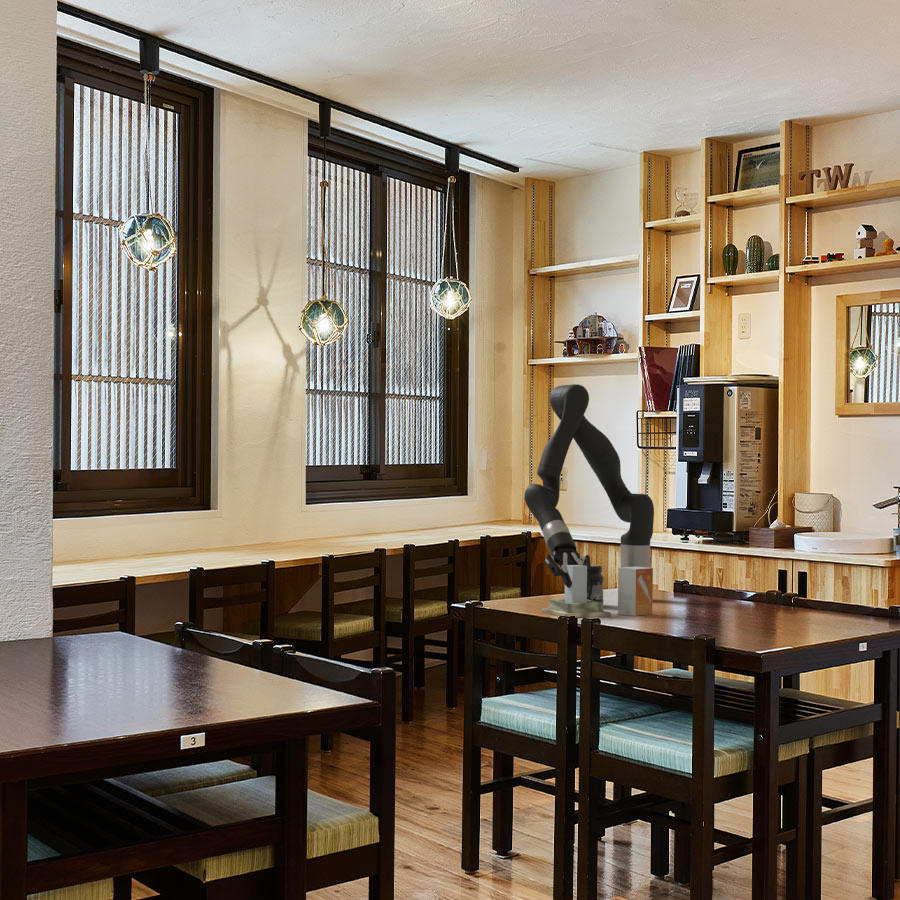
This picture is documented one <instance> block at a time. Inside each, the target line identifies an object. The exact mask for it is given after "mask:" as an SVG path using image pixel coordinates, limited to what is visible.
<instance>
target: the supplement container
mask: <svg viewBox="0 0 900 900" xmlns="http://www.w3.org/2000/svg"><path fill="white" fill-rule="evenodd" d="M582 565H583V564H582ZM590 565H591V570H590V572H589V574H588V576H587V577H588V579H589V583H588V585H587V600H592V601H597V602H601V603H603V604H604V580H605V578H604V575H603V574H602V572H603V566H602V565H601V564H594V563H593V564H592V563H590Z"/></svg>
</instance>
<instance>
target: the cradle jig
mask: <svg viewBox="0 0 900 900" xmlns="http://www.w3.org/2000/svg"><path fill="white" fill-rule="evenodd" d="M541 612H542V613H544V614H548V615H553V616H556V617H560V616H575V618H595V617H598V618H599V617H611V616H612V615H611V612H610V611H605V610H604V602H603V603H601V602H597V601H592V600H587V603H566V602H565V598H564V599H549V600H548V607H546V608H545V607H544V608H543V607H542V608H541Z"/></svg>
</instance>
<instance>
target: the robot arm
mask: <svg viewBox="0 0 900 900" xmlns="http://www.w3.org/2000/svg"><path fill="white" fill-rule="evenodd" d="M549 402H550V403H549V404H550V407H551V409H552V410H553V412H554V413H555V415H556V416H557V418H558V419H559V424H558V426H557V428H556V430H555V431H554V433H553V434H552V435H551V437H550V438H549V440H548V441H547V443H546V445H544V449H543V451H542V454H541V457H540V461H539V464H538V467H537V470H536V471H537V473H536V474H537V476H538V478H540V479H541V481H542V484H538V483H532V484H530V485H528V486H527V488H525V492H524V494H523V496H524V503H525V504H526V506H527V508H528V510H529V511H530V512H531V514H532V515H533V517H534V518H535V519H536V520H537V522H538V524H539V527H540V530H541V532H542V536H543V539H544V541H545V543H546V544H545V545H546V546H547V549H548V551H549V553H550V554H547V555H546V557H545V559H544V561H543V562H544V564H545V565H546V566H547V568H548V569H549V570H550V572H551V573H552V575H554V577H560V578H561V579H562V581H563V584H564V586H565V585H566V586H567V588H570V587H571V585H572V581H571V579H570V576H569V574H568V573H567V569H566V565H582V564H583V566H587V576H588V574H589V572H590V570H591V565H590V564H591V557H590V555H589V554H586V555H581V553H579V551H578V550H577V546H576V544H575V541H574V538H573V537H572V534H571V531H570V530H569V528H568V526H567V525H566V523H565V520H564V518H563V516H562V513H561V512H560V510H559V509H558V508H556V507H557V506H558V504H559V500H560V491H561V490H560V489H561V479H560V478H561V474H562V470H563V468H564V466H565V465H564V464H565V461H566V458H567V454H568V451H569V449H570V446H571V443H572V441H573V440H574V442H575V443H576V445H577V447H579V450H580V451H581V452H582V454H583V456H584V458H585V459H586V461H587V463H588V465H589V466H590V469H591V470H592V472H593V473H594V474H595V475H596V477H597V479H598V481H599V483H600V484H601V486H602V488H603V490H604V491H605V493H606V494H607V497H608V499H609V502H610V504H611V506H612V508H613V510H614V512H615V514H616V515H617V517H618V518H619V519H620V520H621V521H623V522H625V523H629V529H628V531H627V532H625V533H624V534H622V535H621V536H620V557H619V559H620V563H619V564H620V565H619V566H620V567H619V568H624V567H647V568H651V540H652V538H653V533H654V521H655V520H654V519H655V506H654V502H653V500H652V498H651V496H649V495H648V494H645V493H632V492H631V490H629V489H628V487H627V485H626V484H625V482H624V480H623V478H622V474H621V471H622V470H621V459H620V455H619V454H618V452H617V450H616V448H615V446H614V445H613V444H612V441H611V440H610V439H609V438H608V437H607V436H606V435H605V434H604V433H603V432H602V431H601V430H600V429H598V428H597V427H596V426H595V425H593V424H592V423H591V422H590V421H589V420H588V418H587V417H586V416H585V413H586V411H587V410H588V409H587V408H588V406H589V403H590V395H589V392H588V390H587V389H586V387H585V386H584V385H581V384H577V383H576V384H573V383H572V384H564V385H563V384H562V385H558V386H555V387H554V388H553V389H552V390H551V391H550V394H549ZM588 583H589V579H588V577H587V585H588Z"/></svg>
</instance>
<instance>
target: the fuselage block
mask: <svg viewBox="0 0 900 900" xmlns="http://www.w3.org/2000/svg"><path fill="white" fill-rule="evenodd" d="M566 569H567V573H568V574H569V576H570V579H571V581H572V585H571V587H570V588H567V586H566V585H565V584H564V599H565V602H566V603H587V566H583V565H566Z"/></svg>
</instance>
